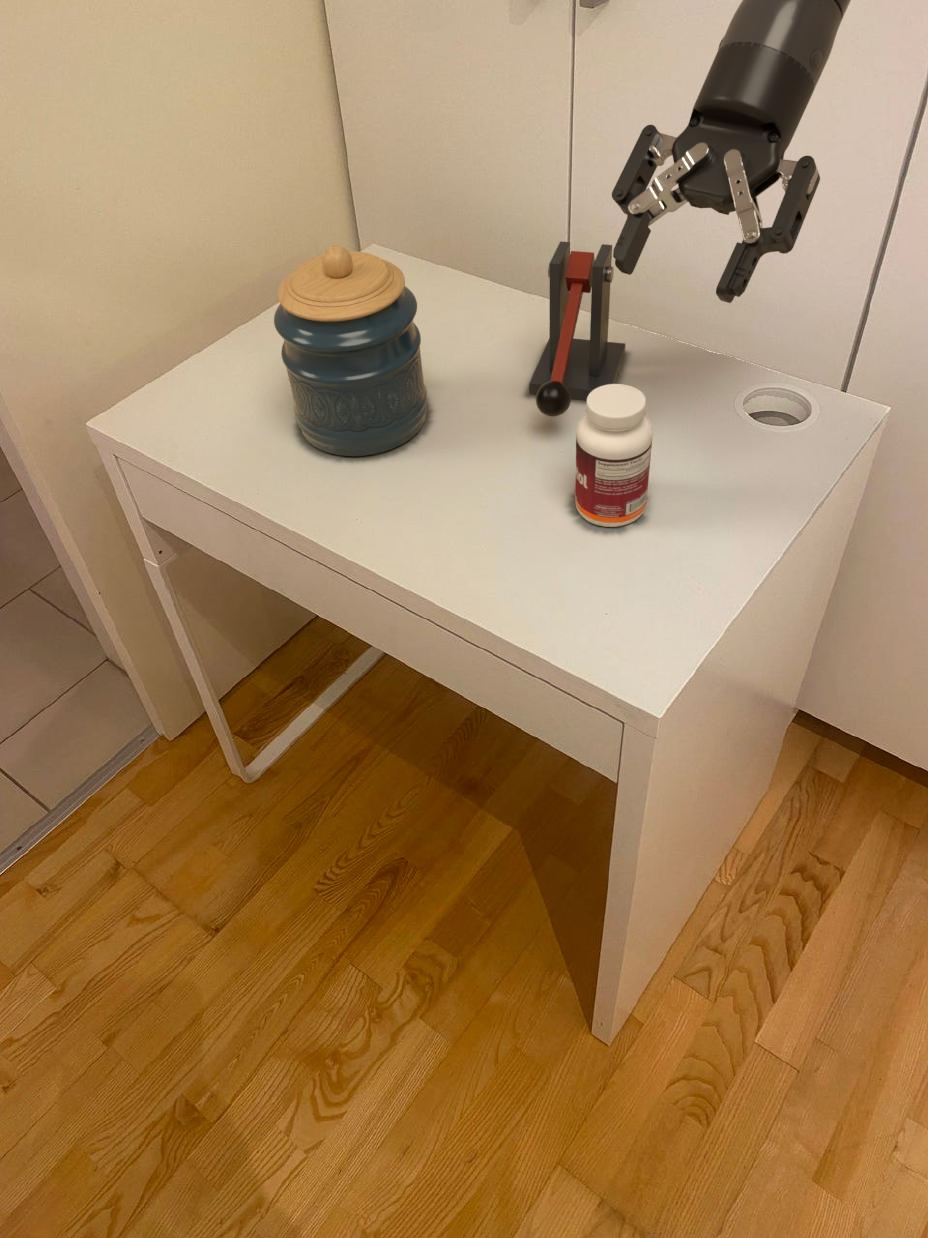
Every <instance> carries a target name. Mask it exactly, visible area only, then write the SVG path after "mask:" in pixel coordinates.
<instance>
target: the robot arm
mask: <svg viewBox="0 0 928 1238" xmlns="http://www.w3.org/2000/svg"><path fill="white" fill-rule="evenodd" d="M851 1H852V0H741V2H740V4H739V5H738V7H737V9H736V10H735V12H734V14H733V16H732V18H731V20H730V22H729V25H728V27H727V29H726V30H725V31H726V32H725V34H724V36H723V37H722V39H721V40H720V42H719V44H718V48H717V51H716V54H715V57H714V59H713V61H712V64H711V65H710V67H709V70H708V73H707V75H706V77H705V79H704V82H703V84H702V86H701V89H700V91H699V93H698V96H697V97H696V99H695V102H694V105H693V106H692V107H693V108H692V111H691V114H690V118H689V121H688V123H687V126H686V127H685V128H684V130H683V131H682V132H681V133H680V134H678V136H672V135H669V134H666V133H662V132H660V131H659V130H658V129H657V127H656V126H655V125H654V124H648V125H646V126H645V127H643V129H642V130H641V131H640V134H639V136H638V138H637V140H636V142H635V145H634V147H633V148H632V150H631V153H630V155H629V156H628V158H627V161H626V163H625V164H624V167H623V169H622V171H621V173H620V175H619V177H618V180H617V181H616V182H615V185H614V187H613V190H612V191H611V199H612V200H613V201H614V202H615V203H616V204H617V206H618V207H619V208H620V210H621V211H622V212H623V214H625V215H627V216H626V220H625V222H624V225H623V227H622V229H621V231H620V233H619V237H618V238H617V241H616V243H615V245H614V248H613V250H612V258H614V259H615V260H614V266H615V267H616V269H618V271H620V273H621V274H622V273H623V274H626V275H629V276H631V275H632V274H633V273H634V271H635V268H636V266H637V264H638V261H639V260H640V257H641V255H642V254H643V253H642V252H643V250H644V248H645V246H646V243H647V241H648V239H649V236H650V234H651V232H652V230H651V229H650V227H649V226H651V225H653V224H654V223H656V222H657V221H658V220H659V219H660V218H661V219H662V217H664V216H665V215H666V214H668V213H674V212H676V211H677V210H679V209H680V208H682V207H683V206H684V205H686V204H687V203H689V205H690V206H691V207H693V208H698V209H712V210H714V211H715V212H717V213H718V214H722V215H727V216H729V215H730V213H734V212H735V213H736V216H737V218H738V222H739V229H740V233H741V237H742V241H741V242H738V241H737V242H736V244H735V245H734V249H733V250H732V253H731V255H730V257H729V258H728V261H727V264H726V265H725V267H724V270H723V271H722V274H721V277H720V279H719V281H718V283H717V285H716V288H715V289H716V290H715V294H716V296H717V298H718V299H719V300H720V301H721V302H725V303H727V304H732V302H733V301H734V299H735V297H737V298H740V297H741V295H743V294H744V293H745V292H746V289H747V288H748V285H749V282H750V281H751V278H752V276H753V274H754V272H755V270H756V267H757V265H758V263H759V261H760V259H761V258H762V257H763V256H764V255H766V254H769V253H776V252H778V253H779V254H783V255H784V254H788V253H790V252H791V251H792V250H793V249H794V247H795V244H796V242H797V239H798V238H799V237H798V236H799V234H800V232H801V229H802V227H803V224H804V222H805V219H806V217H807V214H808V212H809V209H810V206H811V205H812V201H813V199H814V197H815V194H816V191H817V189H818V186H819V184H820V181H821V175H820V172H819V169H818V167H817V163H816V162H815V158H813V156H811V155H804V156H801V157H800V158H799V159H798V160H792V159H784V158H785V153H786V151H787V149H788V148H789V147H790V144H791V142H792V140H793V138H794V136H795V133H796V131H797V129H798V127H799V124H800V123H801V120H802V118H803V115H804V113H805V111H806V109H807V107H808V105H809V103H810V100H811V98H812V96H813V94H814V91H815V89H816V87H817V84H818V83H819V80H820V78H821V77H822V75H823V74H822V73H823V72H824V69H825V68H826V65H827V63H828V60H829V58H830V56H831V53H832V50H833V48H834V45H835V44H834V43H835V41H836V37H837V34H838V31H839V28H840V26H841V23H842V21H843V19H844V17H845V15H846V12H847V10H848V7H849V6H850V3H851ZM671 156H672V160H673V164H672V165H671V166H669V167H667V168H666V169H665V170H664V171H663V172H661V173H660V174H659V175H657V176H656V177H655V178H654V179H652V178H653V176H654V174H655V172H656V170H657V168H658V167H662V166H663V165H665V162H666V160H667V159H668V158H669V157H671ZM780 179H781V186H782V189H783V192H784V195H783V197H782V200H781V201H780V202H781V203H780V205H779V207H778V209H777V212H776V216H775V217H774V220H773V223H772V225H771V226H769V227H764V226H763V219H762V213H761V209H760V205H759V201H758V196H760V195H761V194H762V193H764V192H765V191H766V190H768V189H769V188H770V187H772V186H773V185H775V184H776V183H777V182H778V181H779V180H780ZM651 180H652V182H651ZM650 182H651V185H650V186H649V184H650ZM676 185H677V186H678V187H677V188H675V189H674V190H672V189H673V188H674V187H675V186H676ZM648 186H649V187H648Z"/></svg>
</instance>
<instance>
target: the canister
mask: <svg viewBox="0 0 928 1238" xmlns="http://www.w3.org/2000/svg"><path fill="white" fill-rule="evenodd" d="M277 299H278V302H279V305H278V307H277V308H276V310H275V312H274V316H273V325H274V329H275V330H276V332H277V334H278V335H279V336H280V337H281V338H282V339H283V343H282V346H281V353H280V354H281V359H282V362H283V364H284V366H285V368H286V372H287V377H288V382H289V385H290V390H291V394H292V398H293V402H294V404H293V411H294V416H295V420H296V423H297V425H298V427H299V429H300V430H301V433H302V435H303V438H305V440H306V441H307V442H308V443H309V444H310V445H312V446H313V447H315V448H316V449H318V450H320V451H323V452H325V453H327V454H331V455H337V456H342V457H343V456H345V457H364V456H371V455H377V454H381V453H385V452H387V451H390V450H392V449H395V448H397V447H399V446H401V445H403V444H405V443H407V442H408V441H409V440H411V439H412V438H413V437H415V436H416V434H417V433H418V432H419V431H420V430H421V429H422V427H423V425H424V424H425V421H426V417H427V408H428V403H429V401H428V391H427V388H426V385H425V381H424V374H423V373H424V372H423V363H422V355H421V343H422V336H421V335H422V334H421V332H420V329H419V328H418V326H417V325H416V323H414V319H415V317H416V314H417V311H418V301H417V298H416V296H415V294H414V293H413V291H411V289H410V288H408V286H406V278H405V275H404V273H403V271H402V270H401V268H400V267H398V266H397V265H396V264H394V263H392V262H390V261H388V260H386V259H382V258H381V257H379V256H377V255H375V254H371V253H368V252H365V251H358V250H357V251H355V250H348V249H347V248H345V247H344V246H342V245H332V246H330V247H328V248H326V249H325V250H324V253H323V254H321V255H317V256H315V257H313V258H310V259H308V260H305V262H303V263H301V264H300V265H299V266H297V268H295V270H294V271H292V272H291V273H290V274H289V275H287V276H286V277H285V278H283V280H282V282H281V283H280V284H279V287H278V290H277Z"/></svg>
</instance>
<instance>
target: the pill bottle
mask: <svg viewBox="0 0 928 1238" xmlns="http://www.w3.org/2000/svg"><path fill="white" fill-rule="evenodd" d="M585 401H586V403H585V414H584V415H583V416H582V417H581V418H580V420H579V422H578V424H577V427H576V433H575V482H574V483H575V484H574V486H575V487H574V494H575V495H574V503H575V507H576V510H577V512H578V513H579V515H580V516H581V517H582V518H583V519H584V520H586V521H587V522H589V523H590V524H592V525H595V526H600V527H605V528H608V527H609V528H616V527H623V526H626V525H629V524H631V523H633V522H635V521H636V520H638V519H640V517H641V516H642V515H643V513H644V512H645V510H646V507H647V503H648V502H647V501H648V491H649V490H648V489H649V480H650V470H651V469H650V468H651V457H652V447H653V435H654V433H653V431H654V430H653V425H652V423H651V421H650V420H649V418H648V417H647V416H646V414H647V399H646V395H645V394H644V393H643V391H641V390H639V389H638V388H636V387H634V386H631V385H629V384H628V385H627V384H622V383H615V384H608V385H604V386H600V387H598V388H596V389H594V390H593V391H592V392H590V394H589V395H588V397H587V400H585Z"/></svg>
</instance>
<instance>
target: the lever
mask: <svg viewBox="0 0 928 1238" xmlns="http://www.w3.org/2000/svg"><path fill="white" fill-rule="evenodd" d="M595 259H596V257H595V252H591V251H578V250H570V258H569V262H568V267H567V271H566V276H565V278H566V284H567V289H568V291H569V297H568V302H567V306H566V311H565V315H564V320H563V325H562V329H561V334H560V339H559V343H558V348H557V352H556V357H555V362H554V366H553V371H552V375H551V380H550V381H549V382H547V383H545V384H543V385H542V386H541V387H540V388H539V390H538V392H537V394H536V395H535V403H536V406H537V409H538V411H540V412H541V413H542V414H543V415H544V416H546V417H551V418H552V417H553V418H554V417H559V416H561V415H563V414H565V412H567V411H568V409H569V407H570V406H571V402H572V399H571V394H570V391H569V389H568V388H567V387H566V386H565V385H564V379H565V375H566V370H567V365H568V361H569V356H570V351H571V347H572V342H573V338H574V337H575V332H576V327H577V323H578V318H579V313H580V308H581V303H582V299H583V296H584V293H585V294H591V293H592V266H593V264H594V262H595Z"/></svg>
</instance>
